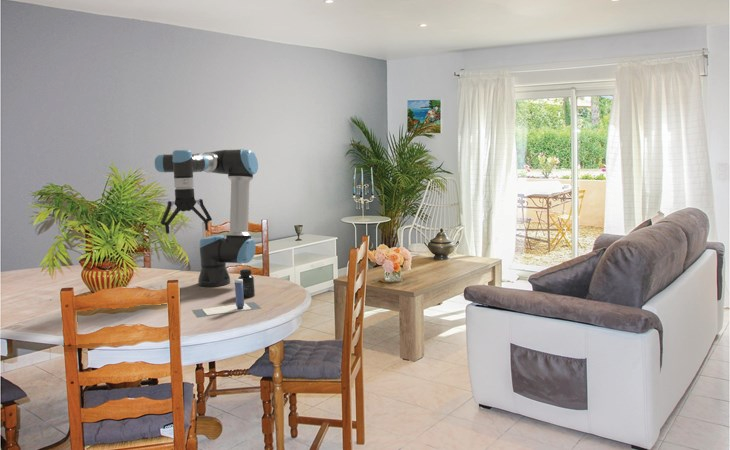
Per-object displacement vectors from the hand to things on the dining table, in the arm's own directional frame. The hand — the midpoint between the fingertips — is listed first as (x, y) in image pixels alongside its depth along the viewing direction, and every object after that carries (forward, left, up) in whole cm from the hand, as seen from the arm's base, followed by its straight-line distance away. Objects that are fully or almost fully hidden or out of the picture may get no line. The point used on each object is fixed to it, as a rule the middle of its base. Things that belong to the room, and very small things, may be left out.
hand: (187, 239), depth 259 cm
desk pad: (+11, +12, -29) cm, 33 cm away
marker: (+14, +17, -28) cm, 36 cm away
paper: (+11, +12, -28) cm, 33 cm away
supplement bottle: (-6, +25, -29) cm, 39 cm away
